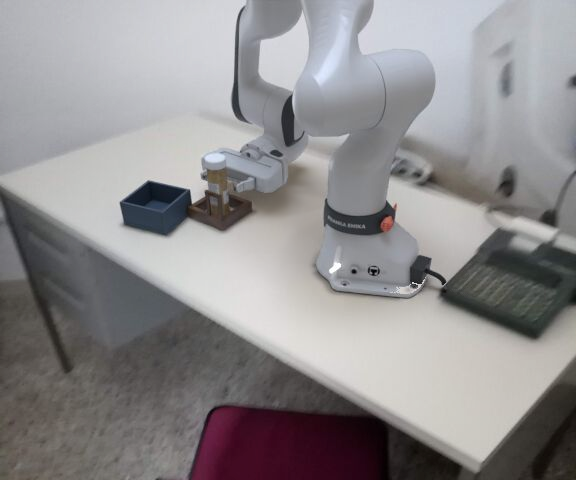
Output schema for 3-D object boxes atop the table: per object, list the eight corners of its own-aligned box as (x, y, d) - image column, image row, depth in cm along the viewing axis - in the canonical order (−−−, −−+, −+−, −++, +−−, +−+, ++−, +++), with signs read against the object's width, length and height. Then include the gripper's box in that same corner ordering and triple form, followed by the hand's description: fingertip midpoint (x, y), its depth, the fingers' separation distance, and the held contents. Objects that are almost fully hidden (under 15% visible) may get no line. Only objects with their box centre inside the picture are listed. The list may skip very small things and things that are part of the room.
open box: (193, 211, 137) (190, 189, 133) (166, 235, 130) (162, 212, 126) (152, 202, 141) (148, 179, 137) (124, 224, 133) (119, 202, 129)
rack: (252, 211, 137) (250, 178, 131) (223, 231, 131) (219, 197, 126) (218, 198, 141) (215, 166, 136) (188, 216, 136) (183, 183, 130)
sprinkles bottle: (234, 215, 136) (229, 158, 126) (216, 221, 134) (210, 163, 125) (224, 207, 139) (219, 150, 129) (207, 212, 137) (200, 155, 127)
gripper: (223, 136, 141) (182, 157, 133) (292, 158, 133) (254, 181, 125) (225, 161, 146) (186, 183, 138) (292, 184, 137) (255, 209, 129)
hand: (219, 183), depth 131 cm, fingers open, 8 cm apart
